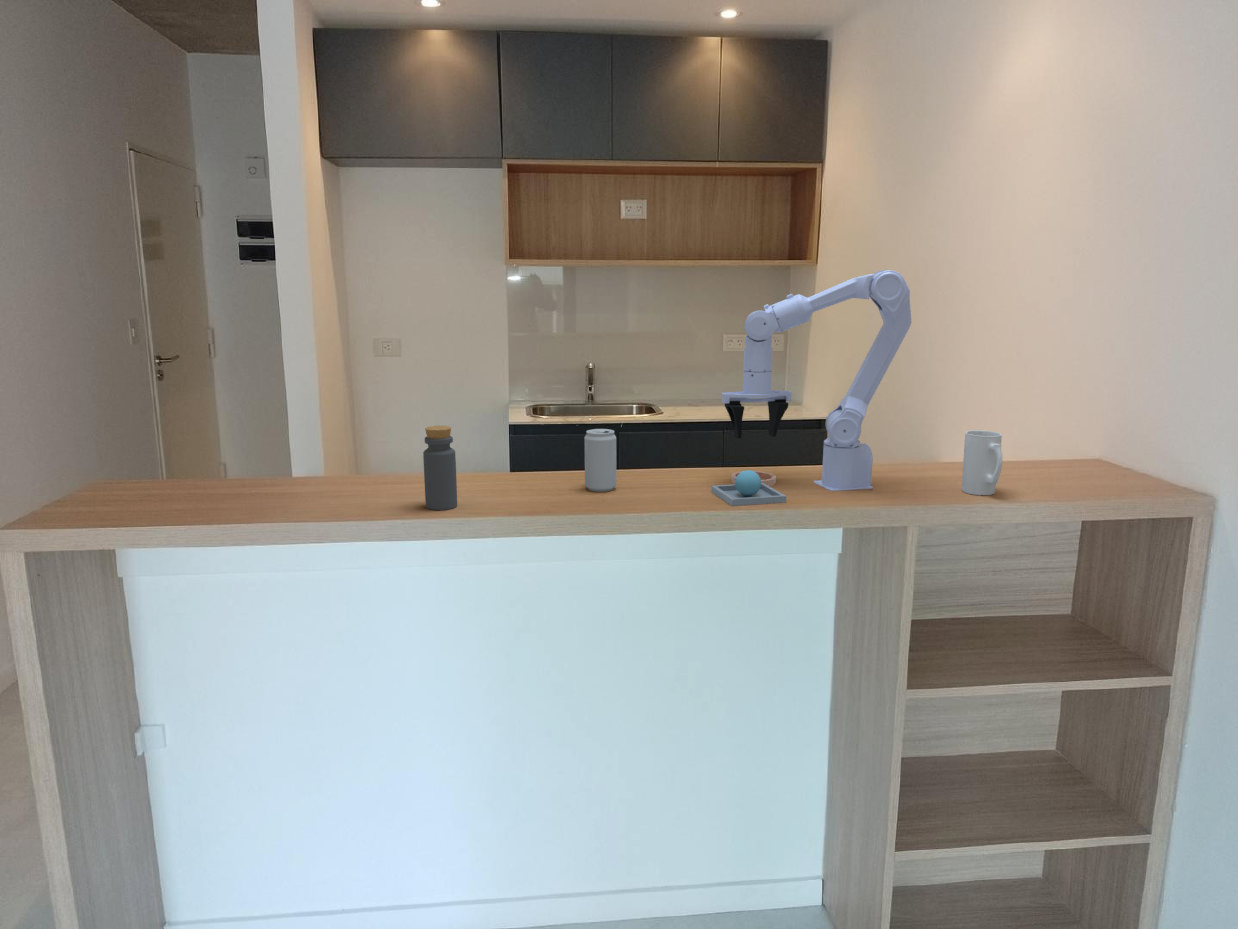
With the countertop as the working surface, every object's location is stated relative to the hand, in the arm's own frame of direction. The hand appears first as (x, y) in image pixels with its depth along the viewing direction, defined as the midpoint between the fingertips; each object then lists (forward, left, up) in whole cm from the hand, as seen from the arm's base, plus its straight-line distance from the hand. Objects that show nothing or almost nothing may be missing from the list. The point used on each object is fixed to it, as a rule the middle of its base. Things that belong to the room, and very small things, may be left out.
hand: (755, 436), depth 178 cm
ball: (+6, +11, -9) cm, 16 cm away
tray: (+6, +12, -10) cm, 16 cm away
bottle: (+64, +3, -10) cm, 65 cm away
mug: (-41, +19, -10) cm, 46 cm away
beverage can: (+32, -3, -10) cm, 34 cm away
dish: (0, 0, -10) cm, 10 cm away
